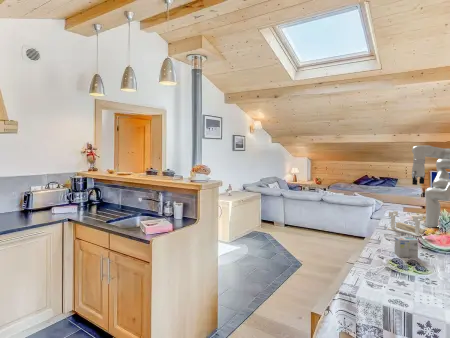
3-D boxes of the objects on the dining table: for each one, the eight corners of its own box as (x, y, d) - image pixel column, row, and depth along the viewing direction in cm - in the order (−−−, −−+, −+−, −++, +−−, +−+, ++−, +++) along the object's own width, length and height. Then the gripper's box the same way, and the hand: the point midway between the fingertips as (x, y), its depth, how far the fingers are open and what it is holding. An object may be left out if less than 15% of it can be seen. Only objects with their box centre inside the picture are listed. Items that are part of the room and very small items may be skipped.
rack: (392, 228, 234) (392, 210, 233) (423, 235, 214) (424, 216, 213) (386, 229, 230) (387, 211, 229) (418, 237, 210) (418, 217, 209)
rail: (399, 227, 238) (400, 222, 238) (426, 235, 215) (426, 230, 215) (395, 227, 237) (396, 222, 237) (422, 235, 214) (422, 230, 214)
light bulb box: (412, 253, 178) (412, 236, 177) (418, 257, 171) (419, 240, 170) (393, 253, 179) (394, 236, 178) (399, 257, 172) (399, 239, 172)
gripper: (419, 161, 231) (419, 183, 232) (407, 162, 222) (406, 184, 223) (430, 161, 224) (429, 183, 225) (418, 162, 216) (417, 185, 217)
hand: (418, 184), depth 224 cm, fingers open, 9 cm apart
